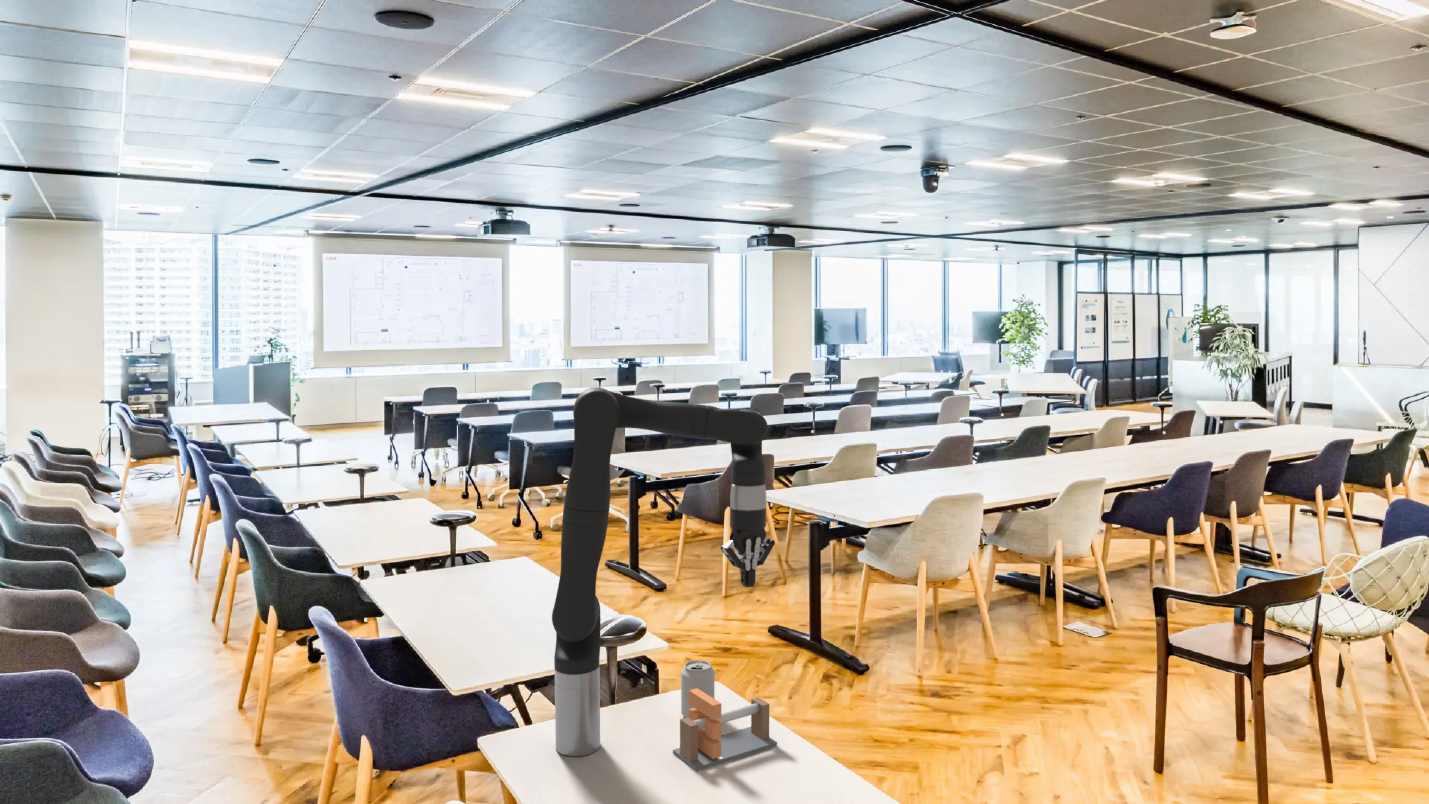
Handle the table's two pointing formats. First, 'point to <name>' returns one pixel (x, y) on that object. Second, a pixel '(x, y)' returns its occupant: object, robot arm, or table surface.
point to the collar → (706, 721)
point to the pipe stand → (727, 736)
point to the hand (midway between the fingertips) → (747, 586)
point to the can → (695, 682)
